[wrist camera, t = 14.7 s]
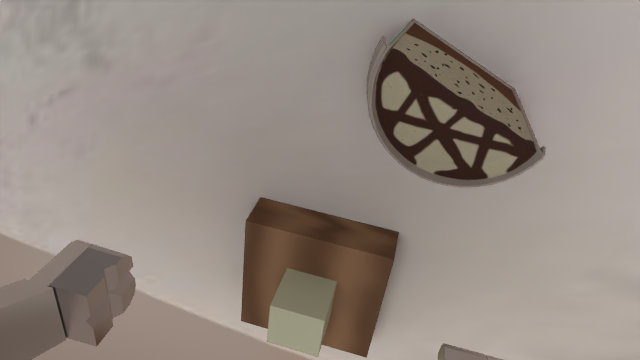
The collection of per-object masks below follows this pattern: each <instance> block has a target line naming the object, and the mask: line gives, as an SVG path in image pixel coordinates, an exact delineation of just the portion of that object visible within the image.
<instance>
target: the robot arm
mask: <svg viewBox="0 0 640 360" xmlns="http://www.w3.org/2000/svg"><path fill="white" fill-rule="evenodd" d="M132 267H133V262H132V257H131V256H128V255H126V254H123V253H119V252H116V251H113V250H110V249H107V248H103V247H100V246H97V245H93V244H90V243H86V242H83V241H80V240H76V241H73V242H71V243H69V244H68V245H67V246H66V247H65V248H64V249H63V250H62V251H61V252H60V253H59V254H57V255H56V256H55V257H54V258H53V259H52V260H51V261H50V262H49V263H48V264H47V265H45V266H44V267H43V268H42V269H41V270H40V271H39V272H38V273H37V274H36V275H34V276H33V277H32V278H31V279H30V280H25V279H23V280H20V281H17V282H15V283H12V284H9V285H6V286H4V287H1V288H0V360H32V359H33V358H35V357H37V356H39V355H40V354H42V353H44V352H46V351H47V350H49V349H51V348H52V347H54V346H56V345H58V344H59V343H61V342H63V341H65V340H66V338H69V339H73V340H76V341H80V342H83V343H87V344H91V345H94V346H97V345H98V344H99V343H100V342H101V340H102V339H103V338H104V337H105V335H106V334H107V333H108V332H109V330H110V329H111V328H112V327H113V318H114V317H116V316H118V315H120V314H122V313H124V311H125V310H126V309H127V307H128V306H129V305H130V303H131V300H132V298H133V296H134V293H135V286H136V284H135V278H134V277H133V276H132V274H131V273H130V272H129V271H130V269H131V268H132ZM438 360H502V359H498V358H495V357H491V356H488V355H484V354H481V353H478V352H474V351H470V350H467V349H463V348H459V347H455V346H452V345H448V344H444V343H443V345H442V346H441V348H440V350H439V352H438Z"/></svg>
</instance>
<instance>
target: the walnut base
mask: <svg viewBox="0 0 640 360" xmlns="http://www.w3.org/2000/svg"><path fill="white" fill-rule="evenodd" d="M398 234H399V232H395V231H391V230H387V229H384V228H380V227H376V226H372V225H368V224H364V223H360V222H356V221H352V220H348V219H344V218H340V217H336V216H332V215H328V214H324V213H320V212H316V211H312V210H308V209H304V208H300V207H296V206H292V205H288V204H284V203H280V202H276V201H273V200H269V199H265V198H260V199H259V201H258V202H257V204H256V206H255V207H254V209H253V210H252V212H251V213H250V215H249V217H248V218H247V220H246V227H245V249H244V271H243V292H242V314H241V321H243V322H247V323H250V324H253V325H257V326H260V327H264V328H267V329H268V323H269V312H270V305H271V303H272V300H273V298H274V296H275V294H276V291H277V289H278V287H279V285H280V283H281V280H282V278H283V276H284V274H285V272H286V269H287V268H289V269H293V270H297V271H300V272H304V273H308V274H311V275H315V276H319V277H322V278H326V279H330V280H333V281H337V284H336V289H335V294H334V299H333V304H332V310H331V315H330V319H329V322H328V325H327V328H326V332H325V335H324V338H323V342H322V345H325V346H329V347H332V348H336V349H339V350H343V351H346V352H349V353H353V354H356V355H360V356H363V357H367V354H368V350H369V347H370V343H371V340H372V336H373V332H374V329H375V325H376V322H377V318H378V315H379V311H380V307H381V304H382V300H383V297H384V293H385V290H386V286H387V282H388V279H389V275H390V272H391V268H392V265H393V261H394V256H395V251H396V245H397V239H398Z"/></svg>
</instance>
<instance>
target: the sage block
mask: <svg viewBox="0 0 640 360" xmlns="http://www.w3.org/2000/svg"><path fill="white" fill-rule="evenodd" d="M336 284H337V281H333V280H330V279H326V278H322V277H319V276H315V275H311V274H308V273H304V272H300V271H297V270H293V269H289V268H287V269H286V272H285V274H284V276H283V278H282V280H281V283H280V285H279V287H278V289H277V291H276V294H275V296H274V298H273V300H272V303H271V305H270V312H269V323H268V334H267V342H269V343H272V344H276V345H279V346H282V347H286V348H289V349H293V350H296V351H299V352H303V353H306V354H310V355H313V356H316V357H318V355H319V352H320V348H321V345H322V342H323V338H324V335H325V332H326V328H327V325H328V322H329V319H330V315H331V310H332V304H333V299H334V294H335V289H336Z"/></svg>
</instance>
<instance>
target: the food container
mask: <svg viewBox="0 0 640 360" xmlns="http://www.w3.org/2000/svg"><path fill="white" fill-rule="evenodd" d="M367 101H368V109H369V115H370V119H371V122H372V125H373V128H374V130H375V132H376V134H377V136H378V138H379V140H380V142H381V143H382V144H383V146H384V147H385V149H386V150H387V151H388V152H389V153H390V154H391V155H392V156H393V158H394V159H395V160H396V161H397V162H398V163H400V164H401V165H402V166H404V167H405V168H406V169H407V170H409V171H410V172H412V173H414V174H416V175H418V176H419V177H421V178H424V179H426V180H429V181H431V182H434V183H438V184H442V185H446V186H454V187H480V186H486V185H492V184H496V183H499V182H503V181H506V180H508V179H510V178H513V177H515V176H517V175H520V174H521V173H523V172H525V171H526V170H528V169H530V168H531V167H533V166H534V165H535V164H537V163H538V162H539V161H540V160H542V159H543V157H544V156H545V147H544V146H543V147H541V148H540V147H539V145H538V143H537V140H536V138H535V136H534V133H533V131H532V129H531V126H530V124H529V121H528V119H527V117H526V114H525V112H524V110H523V107H522V105H521V102H520V100H519V98H518V95H517V93H516V91H515V89H514V88H513V87H511V86H510V85H509V84H507V83H506V82H504V81H503V80H501V79H500V78H498V77H497V76H496V75H494V74H493V73H491V72H490V71H488V70H487V69H485V68H484V67H483V66H481V65H480V64H478V63H477V62H475V61H474V60H473V59H471V58H470V57H468V56H467V55H465V54H464V53H462V52H461V51H460V50H458V49H457V48H455V47H454V46H452V45H451V44H449V43H448V42H447V41H445V40H444V39H442V38H441V37H439V36H438V35H437V34H435V33H434V32H432V31H431V30H429V29H428V28H426V27H425V26H424V25H422V24H421V23H419V22H418V21H416V20H415V19H413V20H412V21H411V22H410V23H409V25H408V26H407V27H406V28H405V29H404V30H403V31H402V32H401V33H400V34H399V35H398V36H397V37H396V38H395V39H394V40H393V42H392V43H391V44H390V45H389V46H388V47H387V46H386V42H385V37H384V36H382V38H381V40H380V42H379V44H378V45H377V47H376V49H375V52H374V54H373V57H372V60H371V62H370V66H369V71H368V77H367Z"/></svg>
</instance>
